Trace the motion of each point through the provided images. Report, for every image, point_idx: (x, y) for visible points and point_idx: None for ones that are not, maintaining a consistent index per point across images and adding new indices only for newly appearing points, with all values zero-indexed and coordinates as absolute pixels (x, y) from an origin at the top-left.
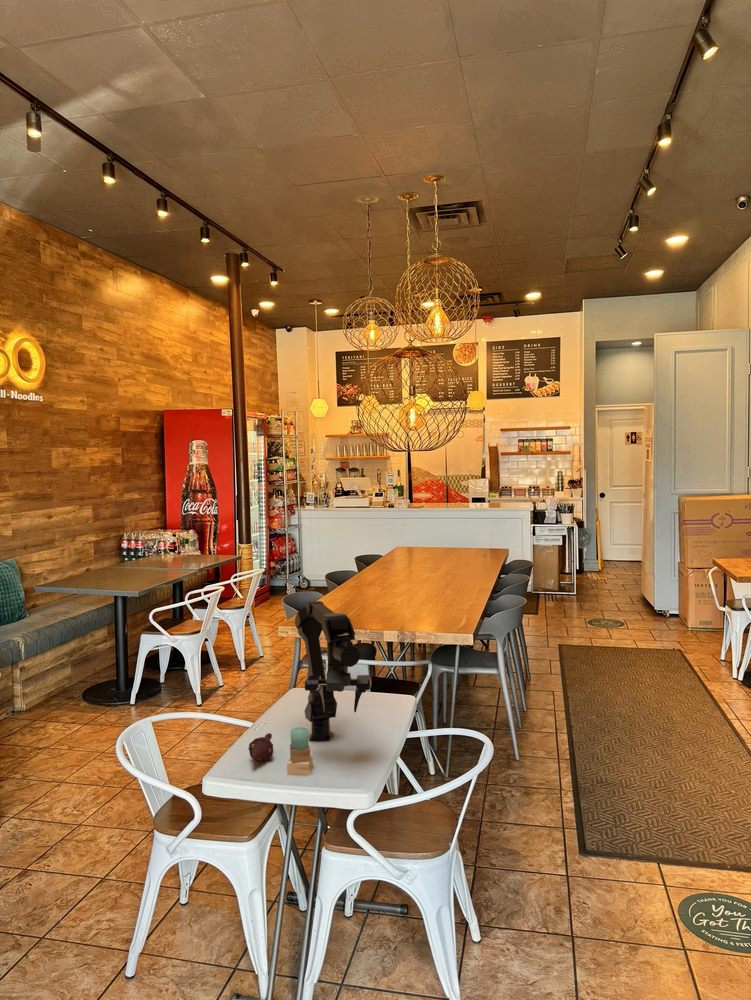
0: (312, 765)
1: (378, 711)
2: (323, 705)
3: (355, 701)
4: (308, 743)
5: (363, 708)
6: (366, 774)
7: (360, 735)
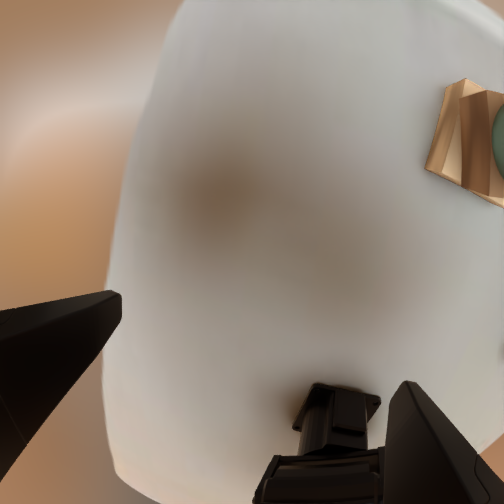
0: (433, 150)
1: (163, 467)
2: (414, 435)
3: (28, 323)
4: (500, 130)
5: (196, 488)
6: (215, 38)
7: (205, 386)
